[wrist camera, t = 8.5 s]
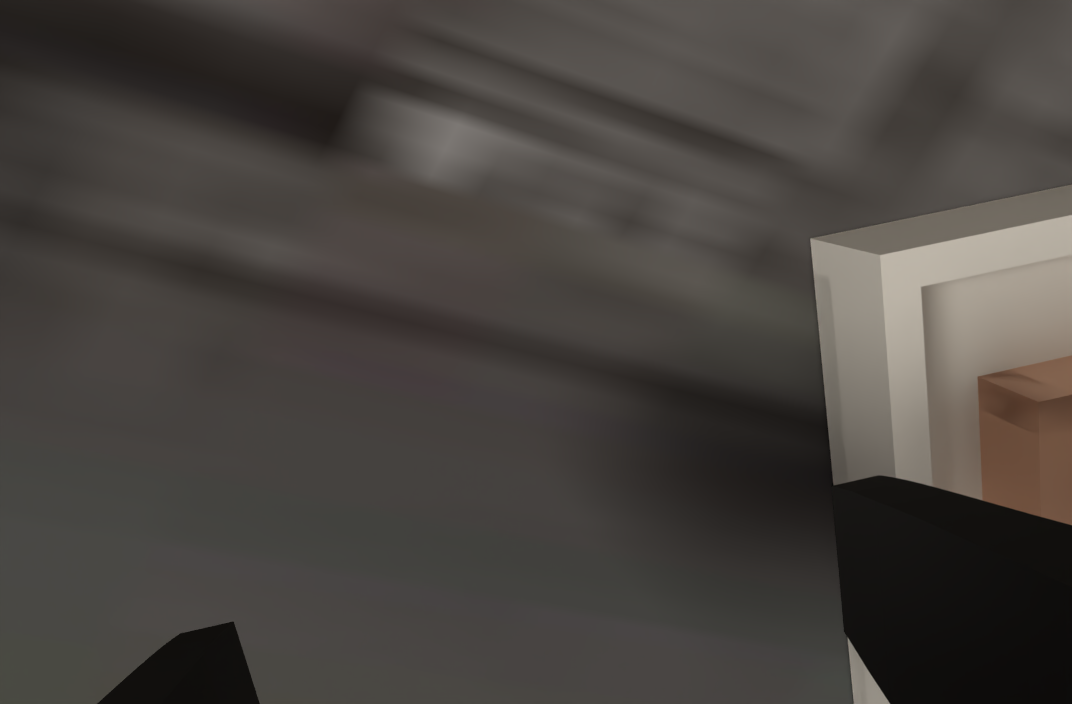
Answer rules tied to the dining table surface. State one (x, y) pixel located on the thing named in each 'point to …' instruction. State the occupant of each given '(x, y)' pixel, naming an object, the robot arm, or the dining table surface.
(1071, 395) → the walled box
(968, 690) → the robot arm
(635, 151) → the dining table surface
